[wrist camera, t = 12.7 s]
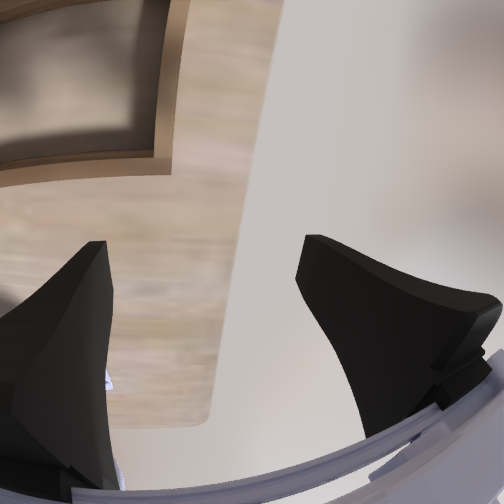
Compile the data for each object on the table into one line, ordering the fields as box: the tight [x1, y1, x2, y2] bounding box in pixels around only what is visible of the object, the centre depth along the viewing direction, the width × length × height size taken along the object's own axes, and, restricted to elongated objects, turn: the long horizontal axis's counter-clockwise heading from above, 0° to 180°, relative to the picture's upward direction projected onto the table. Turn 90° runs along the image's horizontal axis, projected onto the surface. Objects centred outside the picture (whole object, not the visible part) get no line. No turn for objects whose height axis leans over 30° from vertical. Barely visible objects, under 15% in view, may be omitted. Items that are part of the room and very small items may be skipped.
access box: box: [0, 0, 190, 187], centre depth 11 cm, size 12×16×2 cm
